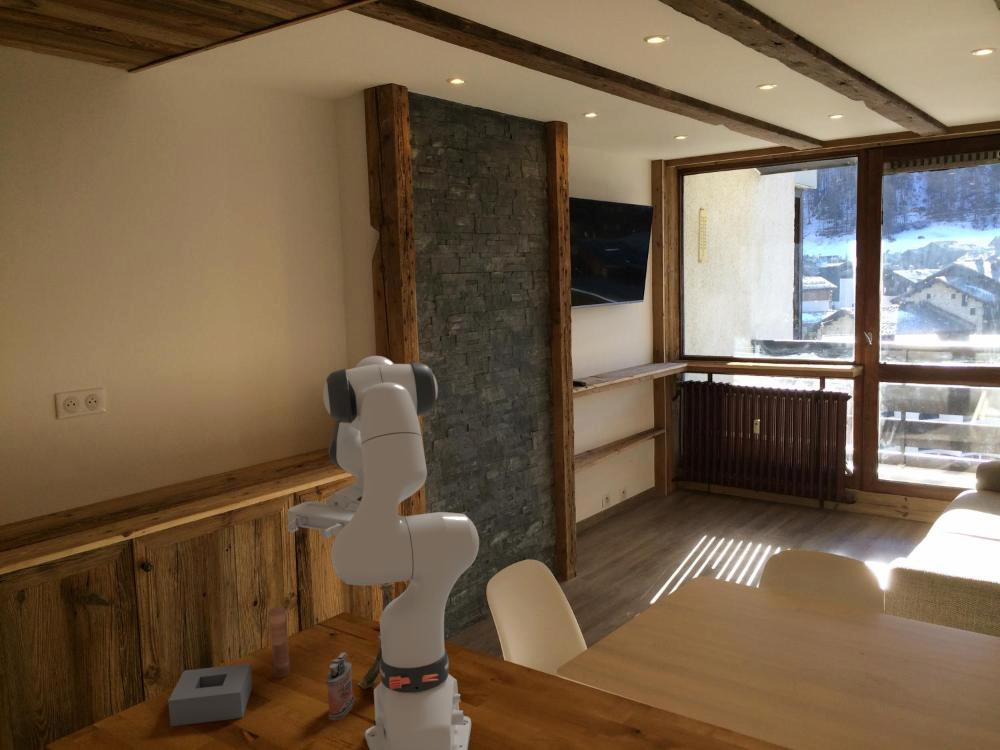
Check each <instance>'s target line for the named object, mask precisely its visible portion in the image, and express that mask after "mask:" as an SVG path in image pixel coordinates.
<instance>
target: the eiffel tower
mask: <svg viewBox="0 0 1000 750" xmlns="http://www.w3.org/2000/svg"><path fill="white" fill-rule="evenodd" d="M394 589H396V588H395V587H394V584H393V583H386V584H380V588H379V590H381V591H382V592H383V593H382V613H383V611H384V609H385V608H386V606H387V605H388V604H389V603H390V602H391V601H393V600H394V598H393V593H392V591H393V590H394ZM382 613H381V614H382ZM377 642H379V646H378V650H377V654H376V657H375V656H374V657H373V659H374V662H373V663H372V665H371V666H370V668H369V669H368V671H367V672H366V673H365V675H364V676H363V678H362V680H361V681H360V682H358V683H357V686H359V687H360V688H362V689H363V690H366V689H368V688H371V687H373V686H376V685H377V681H376V680H377V677H378V676H379V675H380V674H381V672H380V658H381V656H382V647H381V635H378V636H377Z"/></svg>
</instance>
